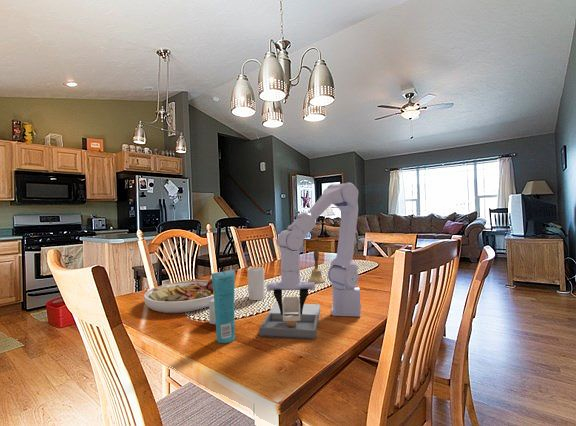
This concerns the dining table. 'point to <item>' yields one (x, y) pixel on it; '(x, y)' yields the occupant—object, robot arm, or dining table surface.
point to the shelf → (307, 312)
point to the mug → (256, 283)
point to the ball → (291, 322)
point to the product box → (212, 312)
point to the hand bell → (316, 270)
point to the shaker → (291, 308)
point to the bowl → (180, 296)
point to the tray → (288, 329)
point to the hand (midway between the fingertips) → (291, 313)
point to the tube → (224, 305)
